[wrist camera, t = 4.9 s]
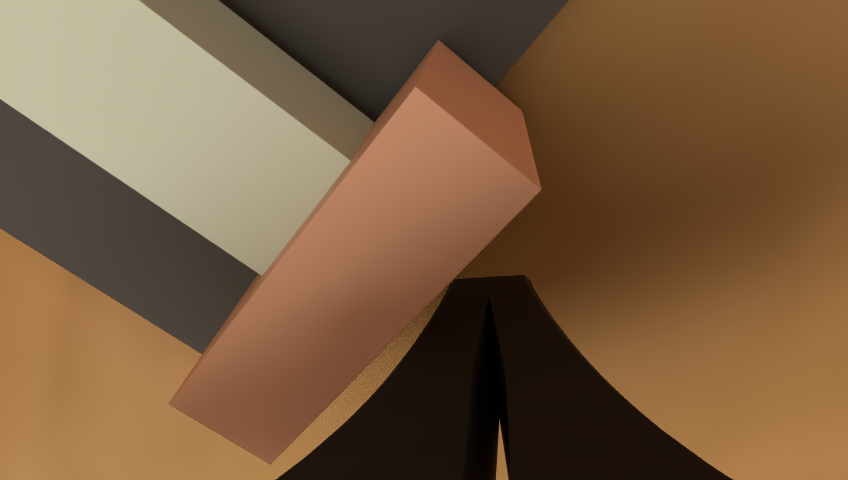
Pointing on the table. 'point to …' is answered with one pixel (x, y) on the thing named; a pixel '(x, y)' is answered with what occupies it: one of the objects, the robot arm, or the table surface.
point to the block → (276, 185)
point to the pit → (175, 241)
